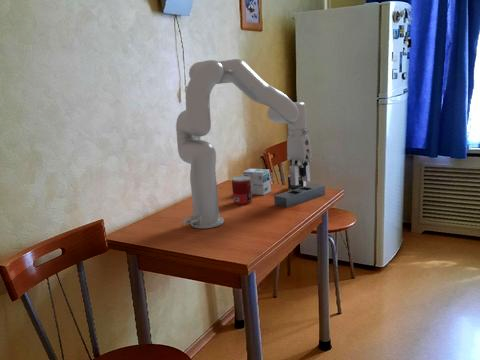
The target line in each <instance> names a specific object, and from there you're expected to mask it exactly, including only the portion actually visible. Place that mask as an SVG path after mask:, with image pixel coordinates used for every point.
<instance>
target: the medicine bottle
mask: <svg viewBox="0 0 480 360" xmlns="http://www.w3.org/2000/svg"><path fill="white" fill-rule="evenodd" d="M291 165H292V164H291V163H290V165H289V166H291ZM298 181H299V185H296V186H295V185H290V173H289V174H288V176H287V184H288V185H287V188H288V190H287V191H290V190H294V189H297V188H300V187H303V186H306V185H307V182H306V181H302V177H300V176H298Z"/></svg>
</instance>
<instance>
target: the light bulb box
mask: <svg viewBox="0 0 480 360" xmlns="http://www.w3.org/2000/svg"><path fill="white" fill-rule="evenodd" d="M242 176H248V177H250V181H251V195H260V196H265V195H267V194H269V193H270V192H271V191H272V189H271V187H272V186H271V176H270V169H263V168H248V169H246V170H243V172H242Z"/></svg>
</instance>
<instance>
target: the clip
mask: <svg viewBox="0 0 480 360" xmlns="http://www.w3.org/2000/svg"><path fill="white" fill-rule="evenodd" d="M303 163H304V161H303ZM290 165H291V164H290ZM290 165H289V174H290V185H295V186H296V185H299V181H298V176H300V168H301V165H300V162H298V164H295V165H291V166H290ZM310 170H311V168H310V163H308V165H307V167H306V176H304V177H302V181H306V183H308V182H311V172H310Z"/></svg>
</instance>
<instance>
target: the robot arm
mask: <svg viewBox="0 0 480 360" xmlns="http://www.w3.org/2000/svg"><path fill="white" fill-rule="evenodd" d="M188 75H189V79H190V80H189V81H188V84H187V86H186V90H185V110H183V111H182V112H180V114H178V116H177V119H176V123H175V124H176V125H175V129H176V130H175V131H176V141H177V142H176V143H177V152H178V156H179V157H180V159H181V160H182V161H183V162H184V163H187V164H190V169H189V170H190V171H189V180H190V182H189V183H190V189H191V198H192V208H193V211H192V212H193V213H191V214H190V215H191V216H189V217H187V218H184V219H182V223H183V224H184V225H188V224H190V226H191V227H192V228H195V229H201V230H202V229H203V230H205V229H212V228H217V227H220V226H222V225H223V224H224V222H225V219H224V217H223V216H220V208H219V207H220V206H219V197H218V185H217V177H216V175H217V174H216V165H217V164H216V163H217V153H216V149H215V147H214V146H213V145H212V144H211V143H210V142H208V141H207V140H202V139H201V137H205V136H207V135H208V134H209V133H210V130H211V127H212V123H211V122H212V120H211V103H210V102H211V101H210V100H211V99H210V98H211V93H212V90H213V88H214V87H215V86H216V85H220V84H230V83H231V84H233V85H234V86H236V88H238V89H239V90H240V91H241V93H243V94H244V95H245V96H246V97H247V98H249V100H251V101H253V102H255V103H258V104H261V105H264V106H266V107H268V109H267V118H268V119H269V120H270V121H271V122H272V123H277V124H279V123H280V124H287V130H288V133H287V134H288V136H287V140H286V142H287V144H286V151H287V152H286V153H287V156H286V160H287V161H289V162H290V165H291V164H292V165H295V164H298V163H300V165H301V168H300V177H304V176H306V167H307V165H308V163H309V164H311V162H312V161H313V160H312V157H313V156H312V155H313V154H312V153H313V152H312V147H311V146H312V145H311V139H310V136H309V135H308V133H309V131H308V129H307V114H306V113H307V112H306V103H305V102H303V101H296V102H295V101H292V99H291V98H290V97H288V96H287V94H284V93H283V92H282V91H280V90H279V89H277V88H275V87H274V86H272V85H271V84H269V83H267V82H266V81H265V80H264V79H262V78H261V77H260V76H259V75H258V74H257V72H255V71H254V70H253V69H252V68H251V67H250V66H249V65H248V63H246V62H245V61H244V60H242V59H239V58H234V59H227V60H219V61H218V60H215V59H214V60H213V59H209V60H203V61H197V62H195V63H193V64H192V65H191V67H190V68H189V72H188ZM303 162H304V163H303Z"/></svg>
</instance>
